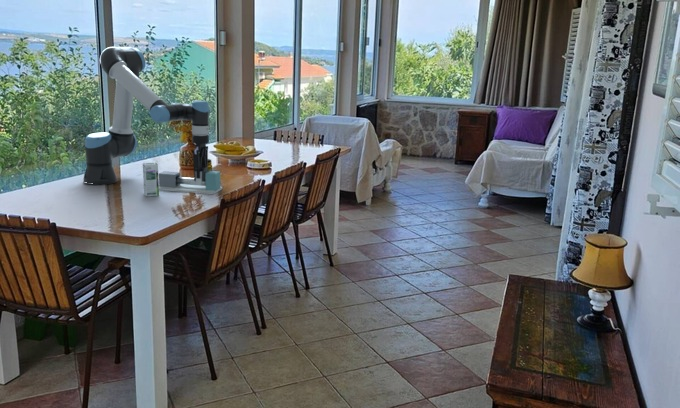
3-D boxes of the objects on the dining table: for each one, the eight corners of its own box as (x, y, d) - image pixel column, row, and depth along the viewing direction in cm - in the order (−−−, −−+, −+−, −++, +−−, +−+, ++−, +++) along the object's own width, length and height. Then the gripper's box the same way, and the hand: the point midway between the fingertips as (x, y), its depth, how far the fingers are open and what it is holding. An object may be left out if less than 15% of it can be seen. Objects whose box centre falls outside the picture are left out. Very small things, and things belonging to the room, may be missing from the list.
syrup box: (146, 196, 264) (144, 164, 261) (143, 193, 269) (142, 162, 266) (159, 195, 267) (158, 164, 263) (156, 192, 272) (155, 161, 268)
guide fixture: (156, 189, 278) (155, 170, 276) (167, 184, 289) (166, 166, 287) (213, 194, 274) (213, 175, 272) (222, 188, 286) (222, 170, 283)
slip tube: (169, 184, 280) (169, 166, 278) (173, 182, 284) (173, 164, 282) (214, 187, 277) (214, 169, 275) (217, 185, 282) (217, 167, 279)
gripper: (201, 137, 265) (201, 188, 271) (214, 132, 282) (215, 180, 288) (185, 136, 266) (186, 187, 272) (199, 131, 283) (200, 179, 289)
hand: (201, 183), depth 280 cm, fingers closed on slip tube, 4 cm apart
